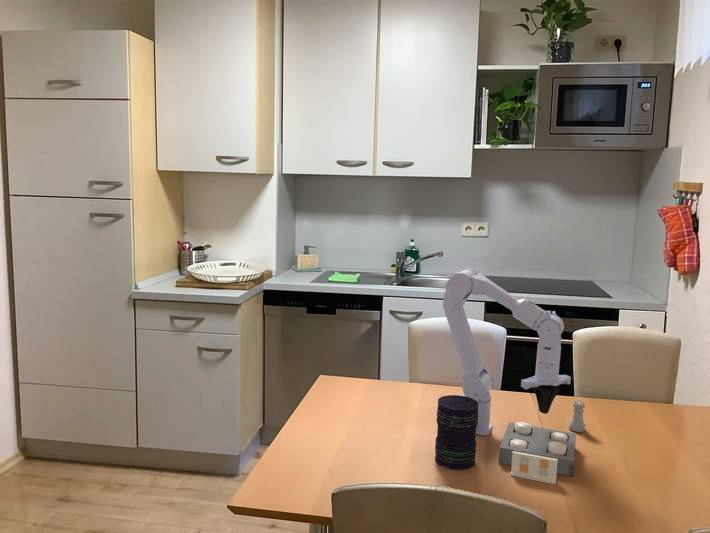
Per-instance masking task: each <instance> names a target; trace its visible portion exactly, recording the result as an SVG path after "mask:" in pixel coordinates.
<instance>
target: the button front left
mask: <svg viewBox="0 0 710 533" xmlns="http://www.w3.org/2000/svg"><path fill="white" fill-rule="evenodd" d="M509 446H512V447H517V448H523V449H527V448H528V446H527V443H526V442H525V441H523V440H518V439H514V440H511V441H510V444H509Z"/></svg>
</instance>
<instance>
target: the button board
mask: <svg viewBox="0 0 710 533" xmlns="http://www.w3.org/2000/svg"><path fill="white" fill-rule="evenodd" d="M515 423H516V422H515ZM515 423H514V422H508V424H507V427H506V429H505V433H504V434H503V437H502V440H501V443H500V445H499V453H498V464H503V465H509V466H512V452H513V451H515V452H521V453H526V454H532V455H537V456H542V457H548V458H553V459H558V461H557V474H556V475H561V476H565V477H567V476H568V477H571V478H573V475H574V466H575V456H576V455H575V454H576V453H575V452H576V443H577V442H576V441H577V433H576V432H575V433H574V432H570V431H562V430H555V429H550V428H546V427H545V428H544V427H538V426H532V425H531V435H526V434H520V433H515ZM555 432H558V433H563V434H565V435H567V436H568V438H567V441H561V440H555V439H551V434H552V433H555ZM514 439H518V440H523V441H525V442H526V443H527V449H523V448H517V447H512V446H510V441H511V440H514ZM552 441H557V442H562V443H564V444H565V445H566V456H562V455H556V454H551V453H548V447H549V442H552Z"/></svg>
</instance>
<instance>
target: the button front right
mask: <svg viewBox="0 0 710 533" xmlns="http://www.w3.org/2000/svg"><path fill="white" fill-rule="evenodd" d="M547 453H551V454H556V455H562V456H567V453H566V445H565V444H564V443H562V442H557V441H552V442H549V447H548V449H547Z"/></svg>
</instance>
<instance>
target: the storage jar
mask: <svg viewBox="0 0 710 533" xmlns="http://www.w3.org/2000/svg"><path fill="white" fill-rule="evenodd" d="M459 395H460V394H458V395H456V394H452V395H443V396H441V397H439V398H437V399H438V400H437V409H436V424H437V432H436V437H435V445H434V452H435V457H434V461H435V463H436V464H437V465H439V466H440V467H442V468H444V469H447V470H451V471H452V470H453V471H465V470H469V469H473V467H474V466H476V455H477V440H476V437H477V436H476V435H477V434H476V428H477V424H478V402H477V401H476V400H474V399H472V398H469V397H466V396H459Z"/></svg>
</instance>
